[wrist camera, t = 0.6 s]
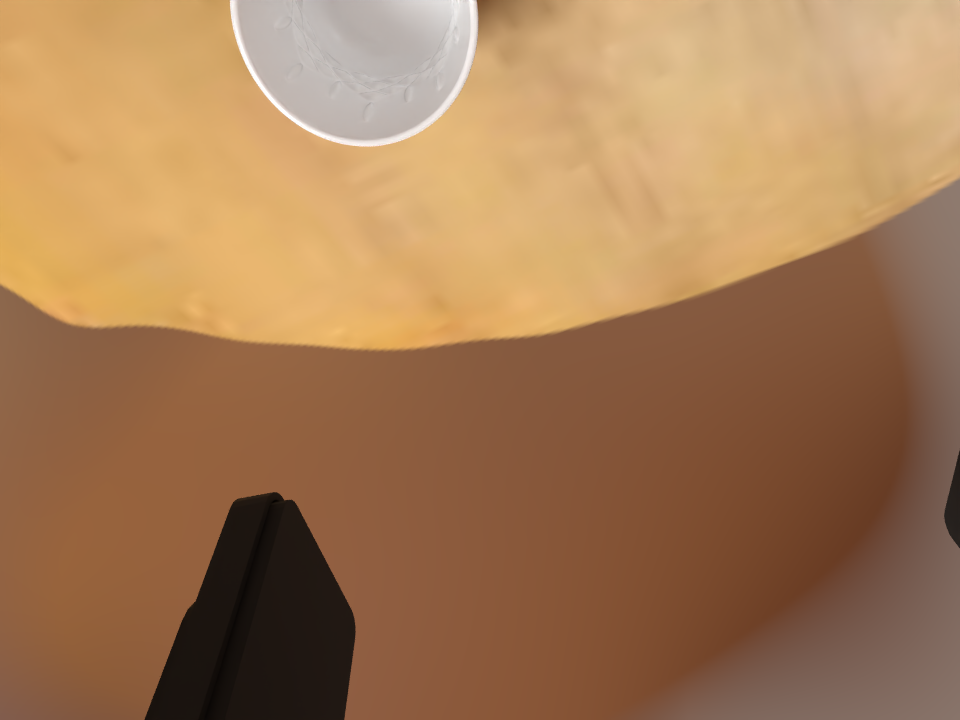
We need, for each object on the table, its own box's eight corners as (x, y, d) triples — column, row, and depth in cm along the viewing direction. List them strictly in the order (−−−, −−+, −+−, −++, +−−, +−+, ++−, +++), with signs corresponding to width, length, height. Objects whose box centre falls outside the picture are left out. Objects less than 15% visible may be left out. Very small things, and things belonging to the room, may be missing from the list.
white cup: (426, -153, 27) (414, -181, 19) (497, 44, 31) (513, 93, 23) (257, -66, 29) (176, -56, 20) (346, 112, 33) (310, 180, 24)
